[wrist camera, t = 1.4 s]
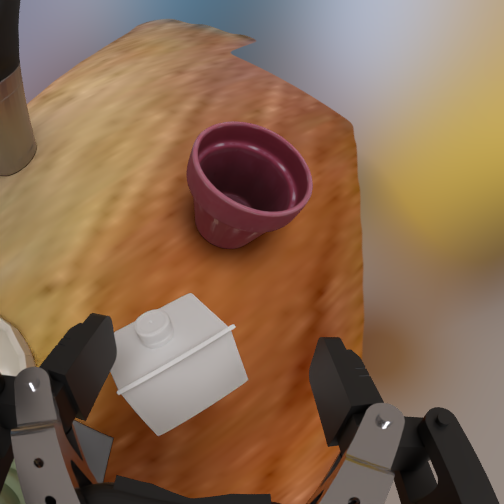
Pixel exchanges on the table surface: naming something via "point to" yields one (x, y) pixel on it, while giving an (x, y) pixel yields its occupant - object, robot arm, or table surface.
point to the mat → (94, 449)
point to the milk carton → (176, 363)
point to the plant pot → (245, 183)
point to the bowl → (13, 350)
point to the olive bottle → (12, 488)
